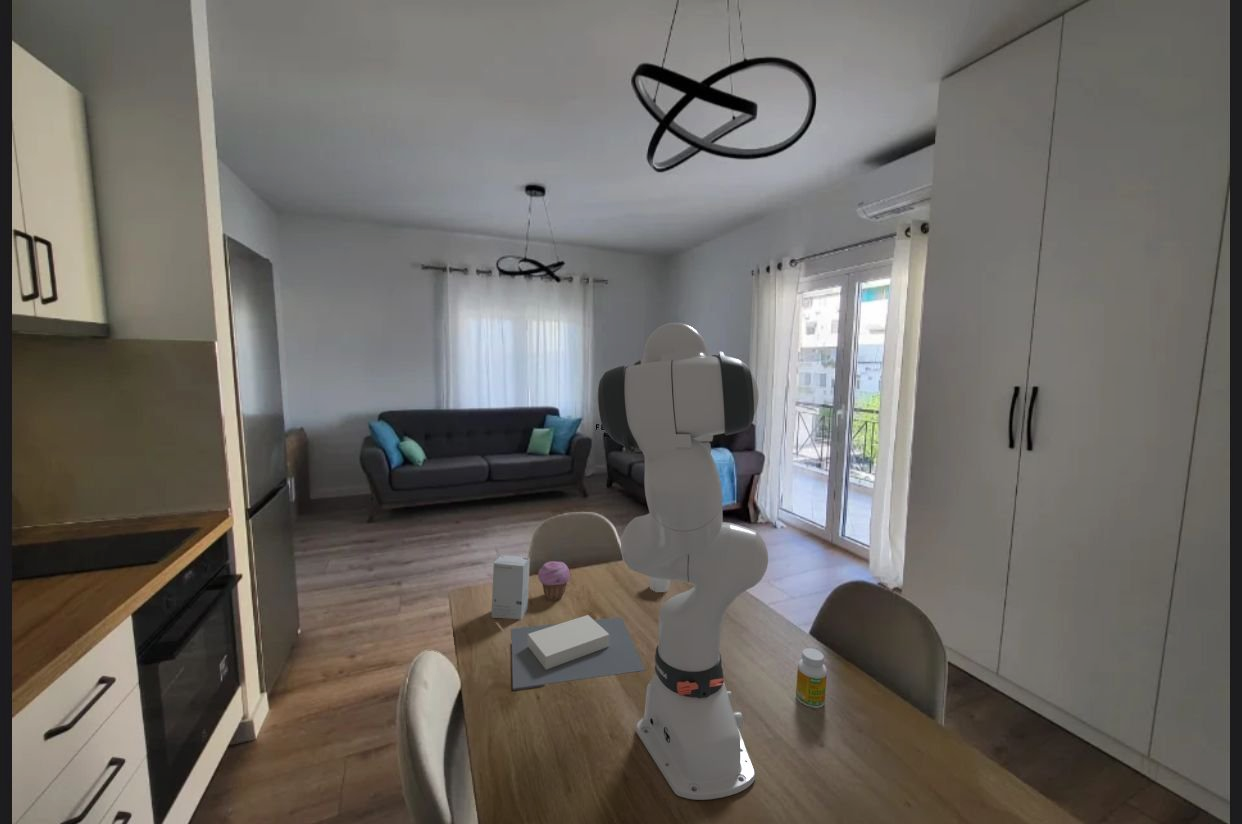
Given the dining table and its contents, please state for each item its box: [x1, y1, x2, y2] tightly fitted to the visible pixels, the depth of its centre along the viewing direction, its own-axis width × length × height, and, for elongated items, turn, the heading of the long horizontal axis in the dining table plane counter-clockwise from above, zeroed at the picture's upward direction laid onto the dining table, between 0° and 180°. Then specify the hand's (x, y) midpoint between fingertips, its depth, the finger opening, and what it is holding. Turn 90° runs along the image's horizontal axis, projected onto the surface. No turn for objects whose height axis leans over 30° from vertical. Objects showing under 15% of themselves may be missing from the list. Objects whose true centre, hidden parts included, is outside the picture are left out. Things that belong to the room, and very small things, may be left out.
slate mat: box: [511, 616, 646, 691], centre depth 110 cm, size 22×28×1 cm
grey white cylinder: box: [648, 576, 671, 593], centre depth 141 cm, size 7×7×7 cm
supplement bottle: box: [795, 647, 828, 709], centre depth 95 cm, size 5×5×10 cm
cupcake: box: [538, 561, 571, 601], centre depth 135 cm, size 9×9×10 cm
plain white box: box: [528, 614, 609, 670], centre depth 111 cm, size 3×10×16 cm
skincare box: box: [491, 554, 531, 621], centre depth 125 cm, size 8×6×15 cm
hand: (684, 485), depth 116 cm, fingers closed
